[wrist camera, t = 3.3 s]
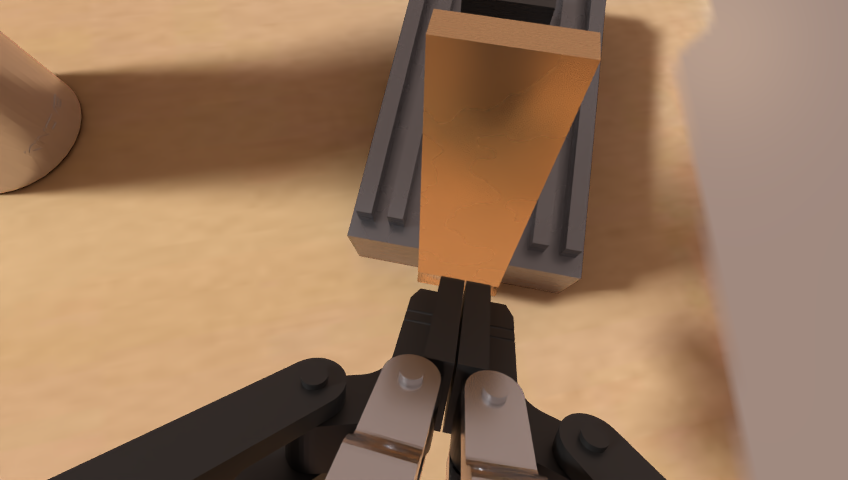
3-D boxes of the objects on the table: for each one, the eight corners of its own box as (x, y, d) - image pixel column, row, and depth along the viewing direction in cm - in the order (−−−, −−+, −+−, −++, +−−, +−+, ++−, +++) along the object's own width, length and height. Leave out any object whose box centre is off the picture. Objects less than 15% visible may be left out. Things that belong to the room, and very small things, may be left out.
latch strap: (422, 262, 23) (417, 285, 22) (435, 1, 11) (425, 37, 10) (496, 276, 23) (493, 300, 22) (599, 24, 10) (600, 63, 10)
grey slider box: (359, 255, 26) (335, 214, 19) (423, 0, 32) (421, -99, 25) (558, 293, 25) (604, 263, 18) (586, 23, 31) (629, -73, 24)
